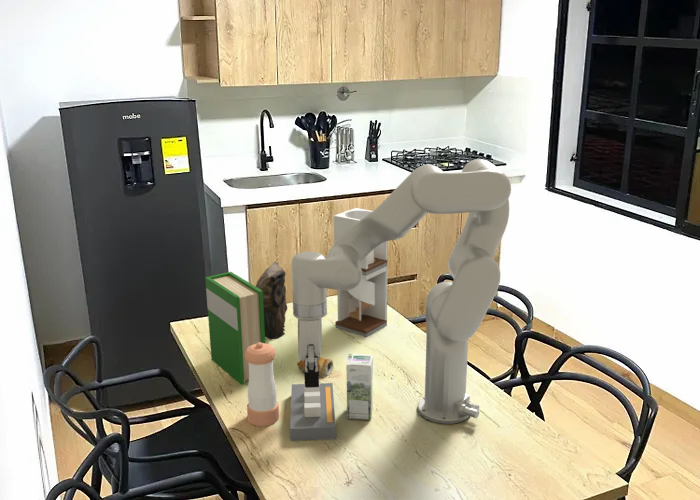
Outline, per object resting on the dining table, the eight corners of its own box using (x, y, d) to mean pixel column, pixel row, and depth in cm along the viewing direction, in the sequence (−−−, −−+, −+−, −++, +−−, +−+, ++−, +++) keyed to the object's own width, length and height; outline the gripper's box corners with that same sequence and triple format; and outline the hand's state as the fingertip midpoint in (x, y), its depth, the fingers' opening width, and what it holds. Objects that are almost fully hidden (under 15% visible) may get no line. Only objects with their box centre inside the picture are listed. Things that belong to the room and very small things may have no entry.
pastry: (293, 373, 187) (292, 360, 186) (303, 362, 193) (303, 349, 192) (326, 379, 184) (326, 365, 183) (335, 367, 190) (335, 354, 189)
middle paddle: (304, 401, 166) (304, 392, 165) (320, 400, 166) (319, 391, 165) (304, 405, 165) (304, 396, 163) (320, 405, 165) (320, 395, 164)
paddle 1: (304, 390, 171) (304, 381, 169) (319, 390, 171) (319, 381, 170) (304, 395, 170) (304, 385, 168) (319, 394, 170) (319, 385, 168)
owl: (276, 319, 221) (273, 257, 215) (302, 331, 212) (300, 267, 206) (242, 330, 213) (239, 267, 206) (268, 344, 204) (265, 278, 198)
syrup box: (372, 408, 170) (373, 353, 165) (371, 421, 164) (371, 364, 160) (349, 407, 171) (348, 352, 166) (346, 420, 165) (345, 363, 160)
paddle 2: (304, 412, 162) (304, 403, 160) (320, 412, 162) (320, 402, 160) (304, 417, 160) (304, 407, 159) (320, 416, 161) (320, 407, 159)
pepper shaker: (283, 422, 164) (279, 346, 158) (252, 429, 162) (247, 352, 156) (274, 407, 171) (270, 334, 165) (244, 413, 168) (240, 339, 162)
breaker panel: (292, 395, 176) (291, 384, 175) (332, 393, 177) (332, 382, 176) (290, 440, 157) (290, 428, 156) (335, 438, 158) (335, 426, 157)
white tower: (335, 328, 214) (333, 215, 203) (356, 316, 222) (356, 207, 211) (366, 337, 207) (366, 221, 197) (386, 325, 216) (387, 213, 205)
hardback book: (266, 377, 185) (262, 290, 178) (241, 385, 181) (235, 297, 174) (235, 352, 199) (230, 271, 191) (211, 359, 195) (205, 277, 187)
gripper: (293, 293, 166) (295, 359, 172) (292, 323, 150) (294, 396, 155) (325, 292, 167) (326, 358, 172) (327, 322, 150) (329, 394, 156)
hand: (311, 376), depth 164 cm, fingers open, 9 cm apart
